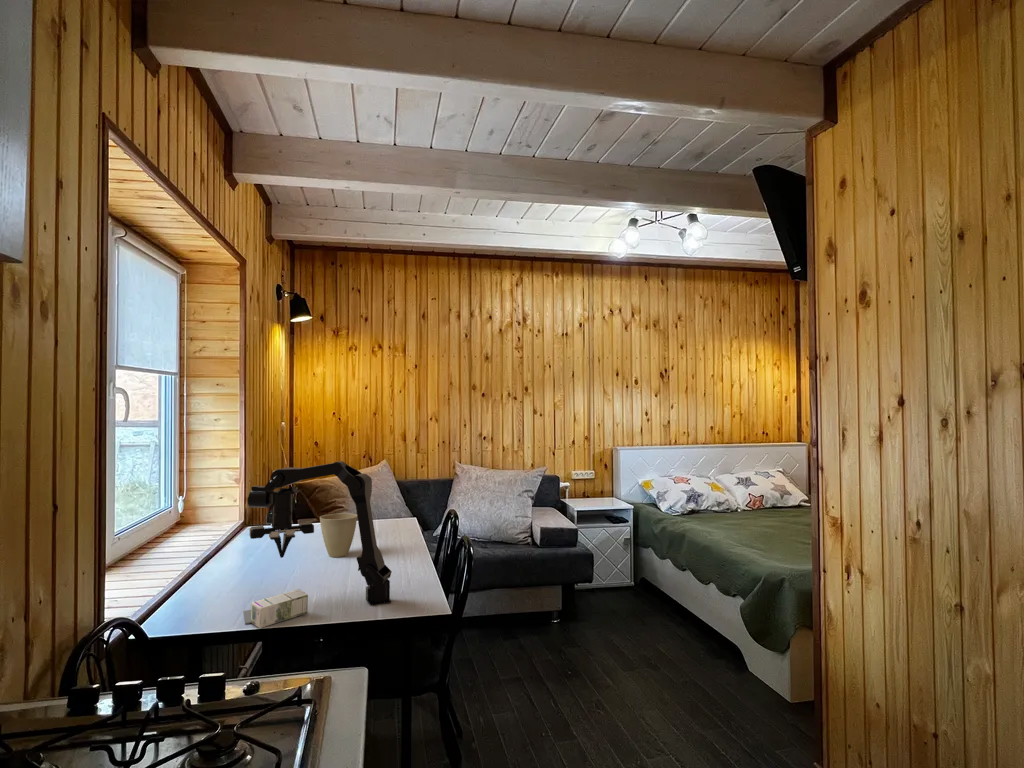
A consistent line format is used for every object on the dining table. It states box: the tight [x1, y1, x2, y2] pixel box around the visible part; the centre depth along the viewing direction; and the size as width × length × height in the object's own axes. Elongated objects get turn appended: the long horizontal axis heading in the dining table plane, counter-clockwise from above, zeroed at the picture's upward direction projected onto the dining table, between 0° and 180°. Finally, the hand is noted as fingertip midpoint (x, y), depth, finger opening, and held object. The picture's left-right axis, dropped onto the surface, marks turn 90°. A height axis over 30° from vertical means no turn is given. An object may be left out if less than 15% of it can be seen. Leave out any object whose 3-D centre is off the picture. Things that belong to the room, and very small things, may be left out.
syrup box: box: [250, 588, 309, 629], centre depth 167 cm, size 6×6×14 cm
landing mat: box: [243, 609, 298, 625], centre depth 171 cm, size 14×11×1 cm
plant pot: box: [319, 512, 358, 558], centre depth 240 cm, size 15×15×16 cm
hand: (281, 557), depth 185 cm, fingers closed
